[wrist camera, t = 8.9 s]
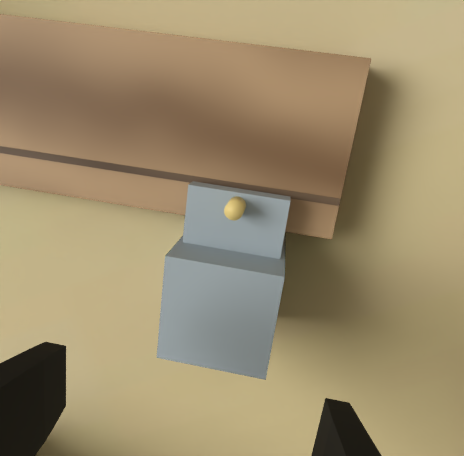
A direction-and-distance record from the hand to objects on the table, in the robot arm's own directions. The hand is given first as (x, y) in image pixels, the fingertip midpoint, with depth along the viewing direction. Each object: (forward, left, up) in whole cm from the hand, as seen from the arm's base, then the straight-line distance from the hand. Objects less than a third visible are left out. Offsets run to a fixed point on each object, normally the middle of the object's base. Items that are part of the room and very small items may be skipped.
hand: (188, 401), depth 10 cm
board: (+7, +6, -9) cm, 13 cm away
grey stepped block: (+1, 0, -9) cm, 9 cm away
